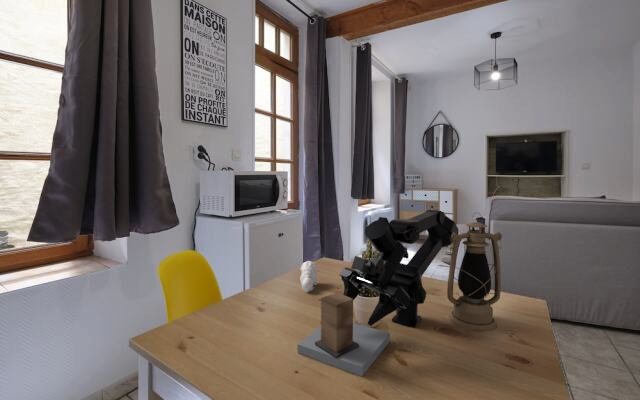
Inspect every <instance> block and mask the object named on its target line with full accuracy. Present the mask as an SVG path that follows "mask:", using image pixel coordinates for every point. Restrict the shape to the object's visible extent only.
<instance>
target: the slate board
mask: <svg viewBox="0 0 640 400" xmlns="http://www.w3.org/2000/svg"><path fill="white" fill-rule="evenodd" d="M319 340H321V326H319V327H318V328H316V329H315V330H314V331H313V332H311V333H310V334H309V335H307V336H306V337H305V338H304V339H302V340H301V341H300V342H298V343H297V345H296V346H297V347H296V348H297V353H298V354H300V355H302V356H306V357H308V358H311V359H313V360H316V361H319V362H321V363H324V364H327V365H329V366H332V367H335V368H338V369H341V370H344V371H346V372H349V373H352V374H353V375H356V376H360V377H363V376H364V374H366V372H367V371H368V370H369V369H370V367H371V366H372V364H374V362H375V360H377V358H378V357H379V356H380V354H382V352H383V350H384V349H385V348H386V347H387V346H388V344H389V343H390V342H391V332H388V331H384V330H381V329H377V328H373V327H371V326H366V325H361V324H359V323H355V322H353V341H354V342H356V343H358V344H359V347H358V348H356V349H354V350H352V351H350V352H348V353H346V354H344V355H342V356H340V357H338V358H334V357H333V356H331V355H330V354H328V353H327V352H325V351H324V350H322V349H320V348H319V347H317V346H316V345H315V342H317V341H319Z"/></svg>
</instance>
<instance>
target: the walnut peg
mask: <svg viewBox="0 0 640 400" xmlns="http://www.w3.org/2000/svg"><path fill="white" fill-rule="evenodd" d="M343 294H344V293H340V292H335V293H331V294H329V295H326V296H323V297H321V298H320V306H321V307H320V310H321V311H320V327H321V340H319V341H317V342H315V345H316V346H317V347H319V348H320V349H322V350H324V351H325V352H327V353H328V354H330V355H331V356H333V357H334V358H338V357H340V356H342V355H344V354H346V353H348V352H350V351H352V350H354V349H356V348H358V347H359V344H358V343H356V342H354V341H353V323H354V300H353V299H352V298H350V297H347V296H345V295H343Z"/></svg>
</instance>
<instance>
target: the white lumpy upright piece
mask: <svg viewBox="0 0 640 400" xmlns="http://www.w3.org/2000/svg"><path fill="white" fill-rule="evenodd" d="M299 270H300V271H301V272H300V273H301V275H300V277H299V281H300V285H301V290H302V291H304V292H306V293H309V292H312V291H313V290H314V286H317V285H318V283H317V281H318V278H317V273H318V271H319V270H318V266H317V265H316V263H315V262H314V261H311V260H306V261H305V262H303V263H302V264H301V266H300V269H299Z"/></svg>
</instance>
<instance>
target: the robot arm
mask: <svg viewBox="0 0 640 400" xmlns="http://www.w3.org/2000/svg"><path fill="white" fill-rule="evenodd" d="M426 231H427V234H428V237H427V238H426V240H425V241H424V242H423V243H422V244H421V246H420V247H419V248H418V250H417V251H416V252H415V253H414V255H413V256H412V257H411V259H410V260H409V261H408V263H407V264H405V263H401V262H402V260H403V258H404V259H409V252H408V248H407V247H405V246H404V244H409V245H413V244H414V243H416V242H417V241H418V240H419V239H420V234H422V233H423V232H426ZM453 232H454V233H456V234H458V235H459V234H460V231H459V228H458V226H457V224H456V222H455V221H454V220H453V219H452V218H449V217H448V216H447V215H446V214H445V212H444V211H442V210H437V209H436V210H435V209H427V210H425V211H424V212H422V213H420V214H417V215H416V216H413V217H411V218H408V219H407V218H401V219H400V218H398V219H391V220H390V221H389V219H388V218H387V217H384V216H379V217H378V219H377V220H374V221H372V222H371V223H370V224H368V225H367V226H366V227H365V230H364V235H365V237H366V238H367V240H368V241H369V243H370V244H371V245H372V247H373V248H374V249H375V250H376V251H377V252H378V254H377V255H376V258H373V257H372V258H370V260H367V259H364V258H361V257H357V256H358V255H355V256H354V259H353V262H352V264H351V267H344V268H342V269H341V271H340V273H339V274H338V275H339V276H340V277H341V279H340V280H341V281H342V282H343V286H344V287H343V293H342V294H343V295H345V296H347V297H350V298H352V299H353V301H354V300H355V299H356V298H357V297H359V294H360V293H361V290H362V289H361V288H363V286H364V287H366V288H369V289H370V291H374V292H377V293H379V294H378V295H379V296H378V302H377V304H376V306H375V307H374V309H373V311H372V312H371V315H370V316H369V319H368V321H367V325H368V326H369V327H372V326H373V325H375V324H376V323H378V322H379V321H381V320H382V319H383V318H385V317H386V316H388V315H390V314H392V313H394V312H395V314H394V316H393V317H392V318H391V322H393V323H398V324H401V325H405V326H409V327H413V328H414V327H416V326H417V325H418V323H419V322H420V321H421V320H422V316H421V315H418V312H419V311H418V310H419V309H418V307H419V305H420V304H421V305H423V304H424V303H425V301H426V298H427V291H426V290H425V287H424V286H423V280H422V277H423V275H424V274H425V272H426V270H428V268H429V267H430V265H431V264H432V263H433V261H434V260H435V258H436V257H437V255H438V254H439V252H440V251H441V249H442V248H445V247H447V246H451V245H453V241H454V242H455V240H453V239H452V238H451V235H452V234H453ZM453 236H454V235H453ZM356 269H357V270H359V271H360V274H361V275H362V276H364V278H362V277H361V276H360V275H359V273H358V272H357V271H356ZM369 284H370V285H369ZM360 289H361V290H360Z"/></svg>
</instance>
